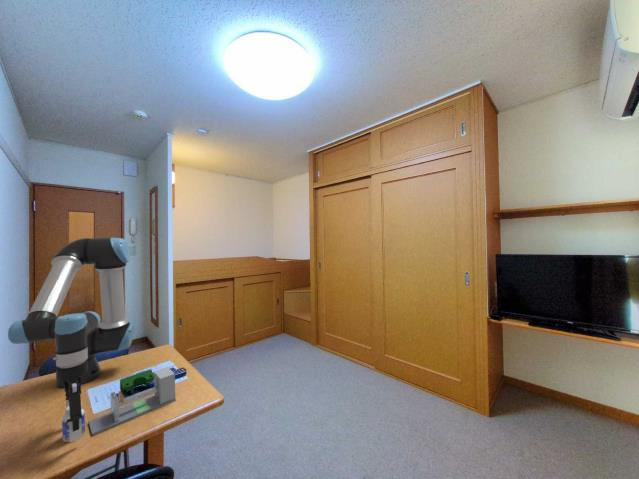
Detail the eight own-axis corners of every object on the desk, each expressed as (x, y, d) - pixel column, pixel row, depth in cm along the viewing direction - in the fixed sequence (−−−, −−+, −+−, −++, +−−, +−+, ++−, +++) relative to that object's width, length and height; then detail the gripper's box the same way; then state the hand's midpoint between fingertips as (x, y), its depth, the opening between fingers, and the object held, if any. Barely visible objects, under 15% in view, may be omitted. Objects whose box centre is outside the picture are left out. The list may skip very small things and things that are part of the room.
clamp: (128, 405, 109) (118, 391, 105) (125, 396, 113) (115, 382, 109) (159, 383, 116) (151, 369, 112) (155, 375, 120) (146, 362, 116)
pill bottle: (65, 445, 82) (65, 414, 82) (60, 438, 85) (59, 408, 85) (88, 434, 87) (87, 404, 87) (81, 427, 90) (81, 399, 90)
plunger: (110, 412, 96) (110, 393, 96) (155, 395, 106) (155, 377, 106) (114, 421, 91) (114, 401, 91) (161, 402, 101) (160, 383, 101)
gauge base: (88, 423, 92) (87, 393, 92) (168, 391, 110) (167, 366, 110) (92, 436, 86) (91, 404, 86) (175, 400, 104) (175, 374, 104)
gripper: (54, 356, 92) (55, 417, 92) (57, 381, 75) (59, 457, 75) (83, 349, 97) (84, 407, 97) (92, 371, 80) (94, 441, 80)
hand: (73, 429), depth 86 cm, fingers open, 13 cm apart
